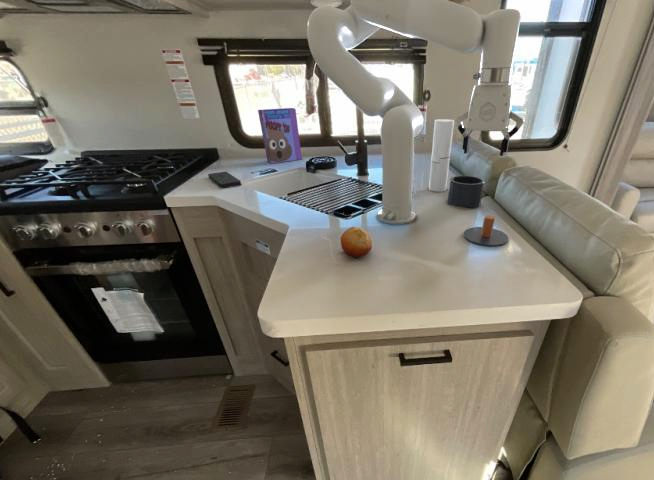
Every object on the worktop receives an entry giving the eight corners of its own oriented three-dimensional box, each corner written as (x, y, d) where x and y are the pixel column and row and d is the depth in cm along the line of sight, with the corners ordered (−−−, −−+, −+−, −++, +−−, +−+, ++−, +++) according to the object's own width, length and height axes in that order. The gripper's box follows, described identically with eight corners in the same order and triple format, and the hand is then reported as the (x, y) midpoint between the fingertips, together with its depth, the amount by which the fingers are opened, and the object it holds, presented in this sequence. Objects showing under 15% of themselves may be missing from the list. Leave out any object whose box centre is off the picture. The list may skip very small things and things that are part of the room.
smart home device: (226, 170, 147) (241, 180, 134) (227, 174, 148) (242, 184, 135) (206, 173, 143) (220, 184, 130) (208, 177, 144) (221, 188, 131)
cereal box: (271, 164, 166) (261, 110, 152) (267, 162, 169) (257, 109, 155) (301, 159, 176) (295, 108, 162) (297, 157, 179) (290, 107, 165)
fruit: (350, 238, 90) (360, 218, 84) (369, 258, 89) (380, 240, 82) (329, 248, 85) (338, 227, 78) (348, 270, 83) (359, 250, 77)
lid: (502, 252, 87) (508, 229, 83) (457, 242, 92) (460, 220, 88) (511, 235, 96) (517, 214, 92) (470, 227, 101) (473, 206, 97)
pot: (474, 211, 113) (479, 186, 108) (443, 205, 117) (445, 181, 112) (483, 201, 121) (487, 178, 116) (453, 196, 125) (456, 174, 120)
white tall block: (447, 191, 130) (455, 121, 116) (429, 191, 131) (435, 121, 116) (444, 186, 136) (452, 119, 122) (427, 186, 136) (433, 119, 122)
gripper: (455, 79, 79) (449, 154, 89) (530, 77, 72) (514, 158, 82) (463, 78, 84) (456, 149, 94) (534, 76, 78) (519, 153, 88)
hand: (483, 153), depth 88 cm, fingers open, 9 cm apart
